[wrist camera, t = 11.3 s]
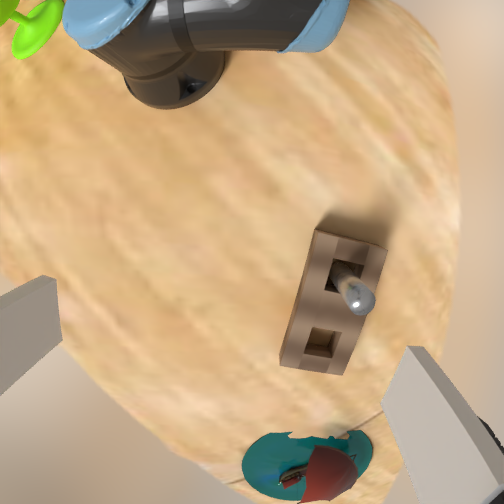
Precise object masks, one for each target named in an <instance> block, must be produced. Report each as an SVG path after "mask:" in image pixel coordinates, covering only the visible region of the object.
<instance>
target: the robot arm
mask: <svg viewBox="0 0 504 504" xmlns="http://www.w3.org/2000/svg"><path fill="white" fill-rule="evenodd" d="M349 2H350V0H67V1H66V3H65V6H64V10H63V15H62V22H63V27H64V29H65V31H66V33H67V34H68V35H69V36H70V37H72V38H73V39H74V40H75V41H77V43H78V44H79V46H80V47H81V48H83V49H86V50H88V51H90V52H91V53H93V54H94V55H96V56H97V57H99V58H100V59H102V60H103V61H105V62H106V63H108V64H110V65H111V66H113V67H114V68H115V69H117V70H118V71H120V72H121V73H122V75H123V76H124V80H125V83H126V86H127V88H128V90H129V91H130V92H131V94H132V95H133V96H134V97H135V98H136V99H138V100H139V101H141V102H142V103H144V104H146V105H148V106H150V107H153V108H157V109H176V108H180V107H184V106H187V105H189V104H191V103H193V102H195V101H197V100H199V99H200V98H202V97H203V96H204V95H205V94H207V93H208V92H209V91H210V90H211V89H212V88H213V86H214V85H215V84H216V82H217V81H218V79H219V78H220V76H221V73H222V71H223V68H224V63H225V54H224V51H231V50H256V51H276V52H277V53H286V52H307V53H314V52H319V51H321V50H323V49H325V48H326V47H328V46H329V45H330V44H331V43H332V42H333V40H334V39H335V38H336V36H337V34H338V32H339V30H340V28H341V26H342V24H343V21H344V19H345V16H346V12H347V9H348V6H349ZM61 341H62V333H61V326H60V317H59V308H58V297H57V283H56V279H54V278H51V277H48V276H45V275H42V276H40V277H37V278H35V279H33V280H31V281H29V282H27V283H25V284H23V285H21V286H19V287H18V288H16V289H14V290H12V291H10V292H8V293H6V294H4V295H2V296H0V396H1V395H2V394H3V393H4V392H5V391H6V390H7V389H8V388H9V387H11V386H12V385H13V384H14V383H15V382H16V381H17V380H18V379H19V378H20V377H21V376H23V375H24V374H25V373H26V372H27V371H28V370H29V369H30V368H31V367H33V366H34V365H35V364H36V363H37V362H38V361H39V360H40V359H41V358H43V357H44V356H45V355H46V354H47V353H48V352H49V351H51V350H52V349H53V348H54V347H55V346H57V345H58V344H59V343H60V342H61ZM380 404H381V406H382V409H383V411H384V413H385V416H386V418H387V421H388V423H389V425H390V428H391V430H392V433H393V435H394V437H395V440H396V442H397V445H398V447H399V450H400V452H401V455H402V457H403V460H404V463H405V465H406V468H407V470H408V473H409V476H410V478H411V481H412V484H413V486H414V489H415V492H416V494H417V497H418V500H419V503H420V504H504V448H503V446H501V443H500V441H499V440H498V438H495V434H494V433H493V431H492V430H491V429H490V427H489V426H488V424H486V423H485V422H484V421H483V420H481V419H480V418H479V417H478V416H476V414H475V413H474V411H473V410H472V409H471V407H470V406H469V405H468V403H467V402H466V401H465V399H464V398H463V396H462V395H461V394H460V392H459V391H458V390H457V389H456V387H455V386H454V385H453V383H452V382H451V381H450V379H449V378H448V377H447V376H446V374H445V373H444V372H443V371H442V369H441V368H440V367H439V365H438V364H437V363H436V362H435V360H434V359H433V358H432V357H431V355H430V354H429V353H428V352H427V351H426V349H425V348H424V347H420V346H407V347H406V349H405V352H404V354H403V356H402V359H401V361H400V363H399V365H398V368H397V370H396V372H395V374H394V376H393V378H392V381H391V383H390V385H389V387H388V389H387V391H386V393H385V395H384V397H383V399H382V401H381V403H380Z"/></svg>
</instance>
